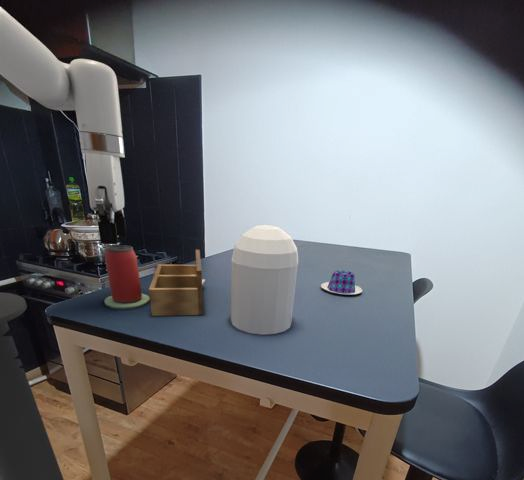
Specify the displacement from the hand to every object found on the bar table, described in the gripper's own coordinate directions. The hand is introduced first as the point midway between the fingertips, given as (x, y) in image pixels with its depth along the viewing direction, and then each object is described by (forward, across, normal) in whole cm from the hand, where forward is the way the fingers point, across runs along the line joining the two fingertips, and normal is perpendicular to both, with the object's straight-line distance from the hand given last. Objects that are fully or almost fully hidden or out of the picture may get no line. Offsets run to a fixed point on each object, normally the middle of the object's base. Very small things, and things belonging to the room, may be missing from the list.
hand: (114, 239), depth 69 cm
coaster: (+14, 0, +1) cm, 14 cm away
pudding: (+12, -7, +59) cm, 61 cm away
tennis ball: (+12, -8, +16) cm, 22 cm away
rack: (+14, -1, +13) cm, 19 cm away
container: (+14, +14, +31) cm, 37 cm away
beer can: (+14, 0, +1) cm, 14 cm away
